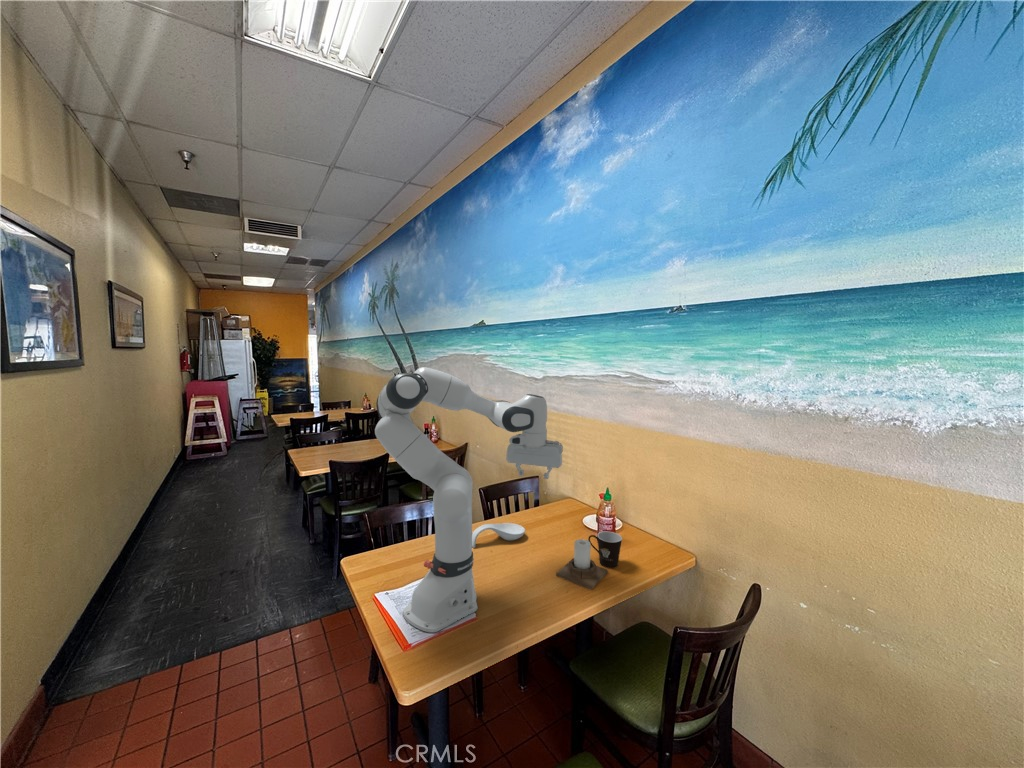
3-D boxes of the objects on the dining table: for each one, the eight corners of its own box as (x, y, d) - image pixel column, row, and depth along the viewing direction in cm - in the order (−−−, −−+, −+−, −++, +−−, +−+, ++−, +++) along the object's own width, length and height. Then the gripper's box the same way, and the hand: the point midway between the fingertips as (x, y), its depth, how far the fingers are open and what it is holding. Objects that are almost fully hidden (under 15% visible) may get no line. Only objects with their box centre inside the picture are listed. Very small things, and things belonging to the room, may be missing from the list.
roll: (581, 577, 128) (582, 548, 128) (570, 570, 133) (571, 541, 132) (593, 572, 131) (594, 543, 131) (581, 565, 136) (582, 537, 135)
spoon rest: (516, 529, 167) (516, 512, 167) (530, 540, 157) (530, 523, 156) (465, 540, 156) (465, 523, 155) (477, 553, 145) (477, 535, 145)
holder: (591, 590, 123) (591, 579, 123) (556, 575, 131) (556, 565, 131) (607, 572, 134) (608, 562, 133) (574, 560, 141) (574, 551, 141)
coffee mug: (626, 566, 138) (627, 539, 137) (608, 572, 134) (609, 544, 133) (603, 551, 148) (604, 526, 147) (586, 557, 144) (586, 531, 143)
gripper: (564, 439, 138) (563, 477, 139) (510, 435, 144) (510, 471, 145) (561, 443, 132) (560, 483, 133) (505, 438, 138) (504, 476, 139)
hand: (533, 476), depth 139 cm, fingers open, 8 cm apart
